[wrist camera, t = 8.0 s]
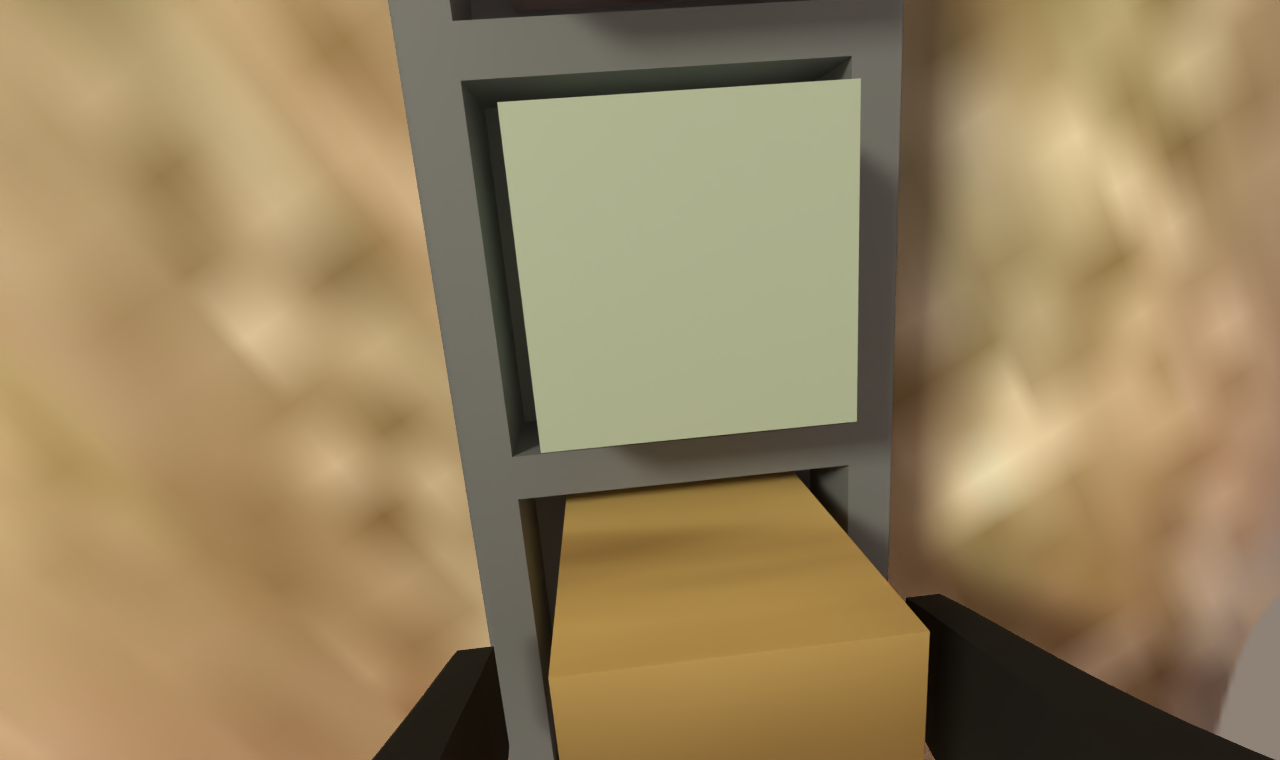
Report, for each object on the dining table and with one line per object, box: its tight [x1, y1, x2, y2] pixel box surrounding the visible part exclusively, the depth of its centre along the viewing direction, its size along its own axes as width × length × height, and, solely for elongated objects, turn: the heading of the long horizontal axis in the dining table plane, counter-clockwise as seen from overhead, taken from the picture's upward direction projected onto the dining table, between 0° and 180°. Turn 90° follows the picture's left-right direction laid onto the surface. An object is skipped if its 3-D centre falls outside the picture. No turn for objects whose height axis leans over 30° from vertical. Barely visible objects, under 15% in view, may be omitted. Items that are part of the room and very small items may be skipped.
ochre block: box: [548, 471, 930, 760], centre depth 10 cm, size 4×4×6 cm
